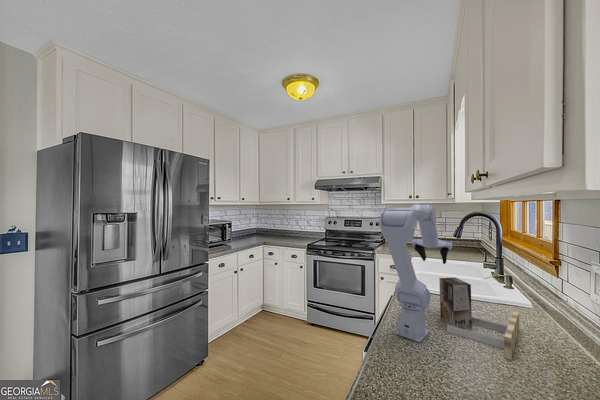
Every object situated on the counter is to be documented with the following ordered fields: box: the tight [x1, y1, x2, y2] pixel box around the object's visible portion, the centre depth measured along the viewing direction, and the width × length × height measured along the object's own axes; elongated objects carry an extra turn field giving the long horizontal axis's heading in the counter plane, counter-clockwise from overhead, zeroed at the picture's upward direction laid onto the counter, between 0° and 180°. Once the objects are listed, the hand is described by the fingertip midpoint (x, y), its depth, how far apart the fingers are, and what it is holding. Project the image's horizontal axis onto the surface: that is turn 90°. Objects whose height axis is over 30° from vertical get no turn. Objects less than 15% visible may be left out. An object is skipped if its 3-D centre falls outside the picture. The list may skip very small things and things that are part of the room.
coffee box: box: [438, 277, 473, 330], centre depth 91 cm, size 9×6×16 cm
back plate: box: [503, 310, 520, 361], centre depth 80 cm, size 24×2×6 cm, turn 135°
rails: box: [446, 316, 508, 350], centre depth 86 cm, size 13×16×2 cm
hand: (434, 260), depth 105 cm, fingers open, 7 cm apart
